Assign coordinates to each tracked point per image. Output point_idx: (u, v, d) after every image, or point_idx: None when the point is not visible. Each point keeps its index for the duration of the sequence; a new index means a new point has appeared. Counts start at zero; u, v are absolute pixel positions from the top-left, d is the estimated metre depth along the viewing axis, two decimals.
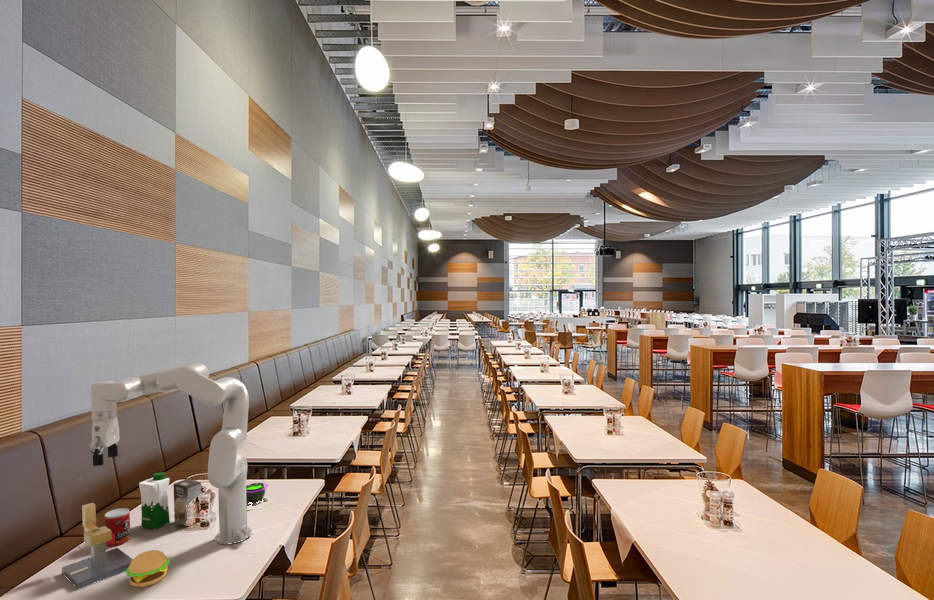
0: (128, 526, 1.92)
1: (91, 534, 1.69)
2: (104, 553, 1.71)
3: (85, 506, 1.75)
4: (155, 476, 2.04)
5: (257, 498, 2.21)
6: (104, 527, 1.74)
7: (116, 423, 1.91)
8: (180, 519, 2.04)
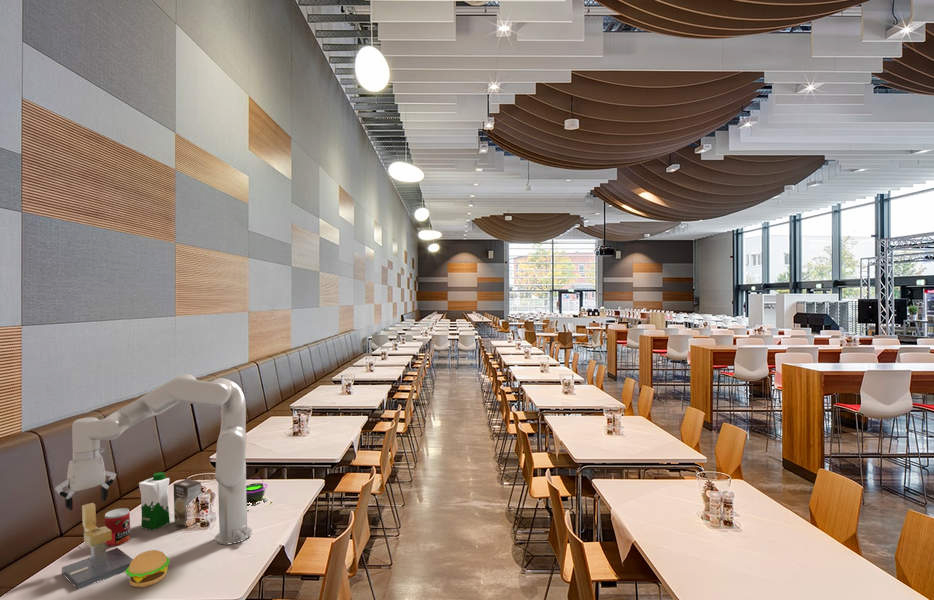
0: (128, 526, 1.92)
1: (91, 534, 1.69)
2: (104, 553, 1.71)
3: (85, 506, 1.75)
4: (155, 476, 2.04)
5: (256, 498, 2.20)
6: (104, 527, 1.74)
7: None
8: (180, 519, 2.04)
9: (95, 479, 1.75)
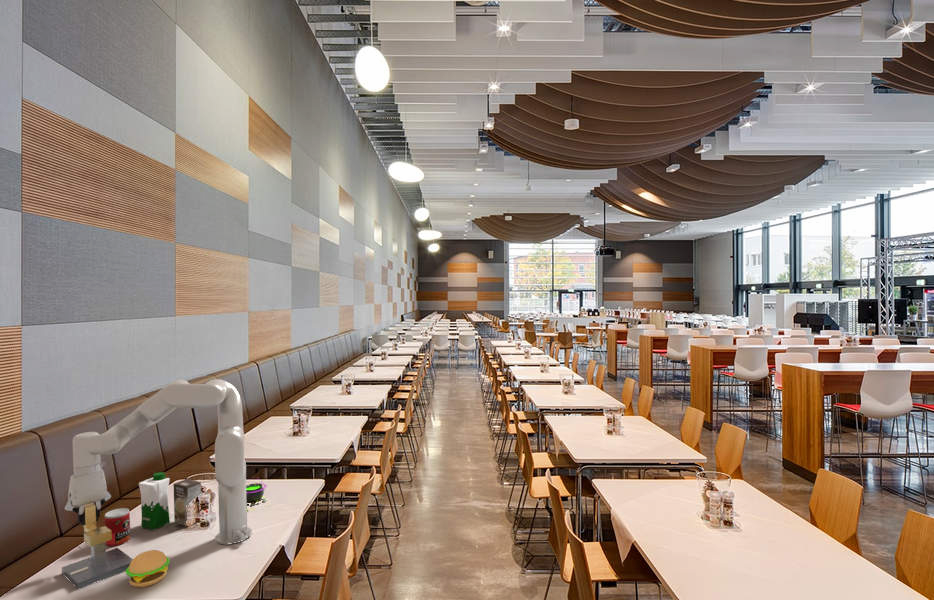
0: (128, 526, 1.92)
1: (91, 534, 1.69)
2: (104, 553, 1.71)
3: (85, 506, 1.75)
4: (155, 476, 2.04)
5: (255, 499, 2.20)
6: (104, 527, 1.74)
7: None
8: (180, 519, 2.04)
9: (97, 493, 1.76)
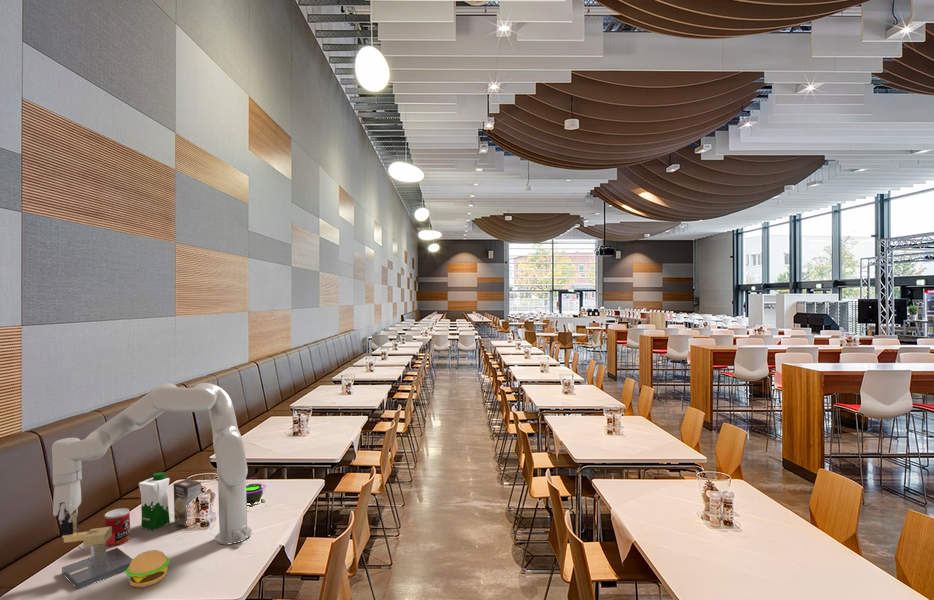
0: (128, 526, 1.92)
1: (97, 533, 1.69)
2: (104, 553, 1.71)
3: (68, 515, 1.68)
4: (155, 476, 2.04)
5: (255, 499, 2.20)
6: (95, 529, 1.73)
7: None
8: (180, 519, 2.04)
9: (79, 499, 1.71)
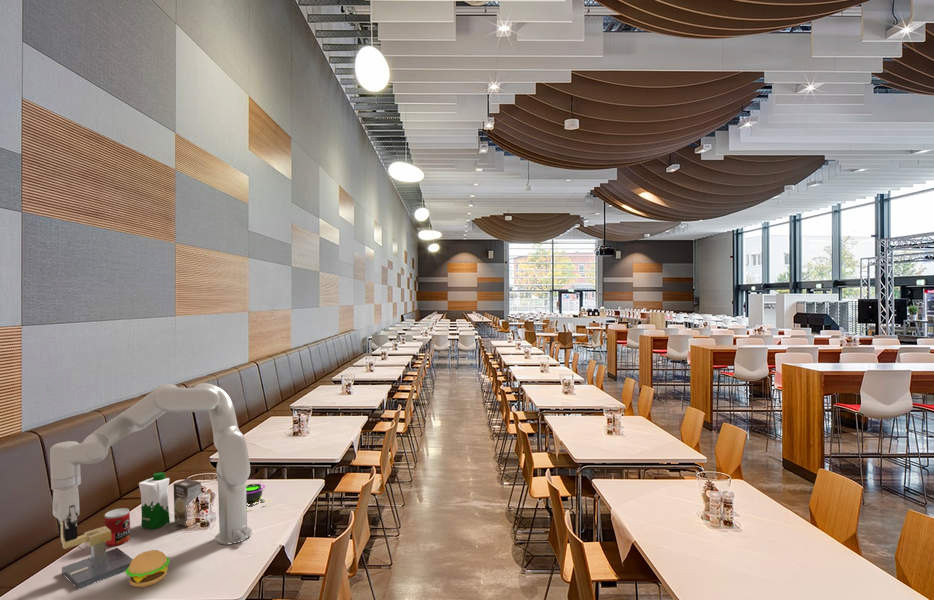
0: (128, 526, 1.92)
1: (101, 532, 1.70)
2: (104, 553, 1.71)
3: None
4: (155, 476, 2.04)
5: (254, 499, 2.20)
6: (89, 531, 1.71)
7: (58, 498, 1.61)
8: (180, 519, 2.04)
9: None
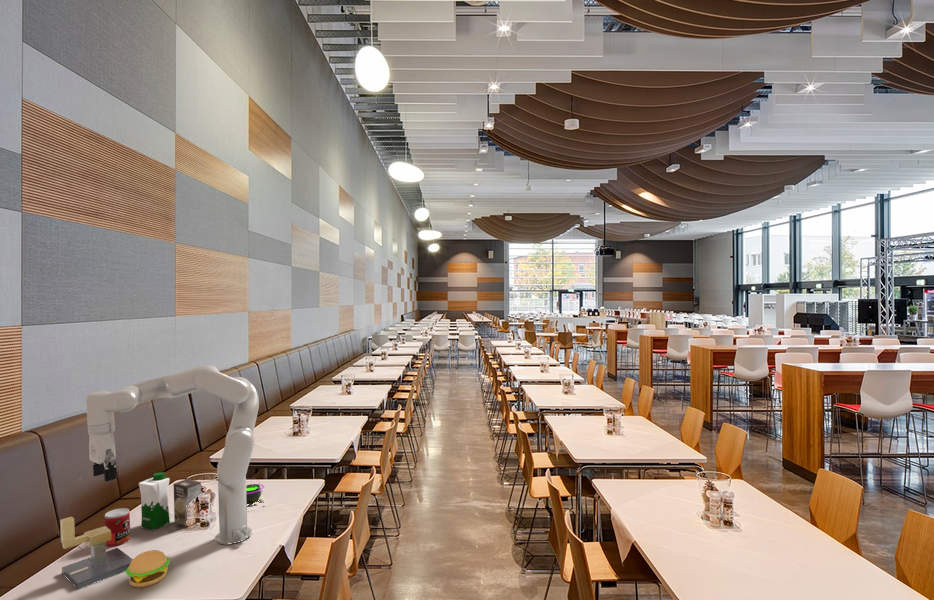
0: (128, 526, 1.92)
1: (101, 532, 1.70)
2: (104, 553, 1.71)
3: (69, 519, 1.64)
4: (155, 476, 2.04)
5: (253, 499, 2.19)
6: (89, 531, 1.71)
7: (96, 442, 1.71)
8: (180, 519, 2.04)
9: None
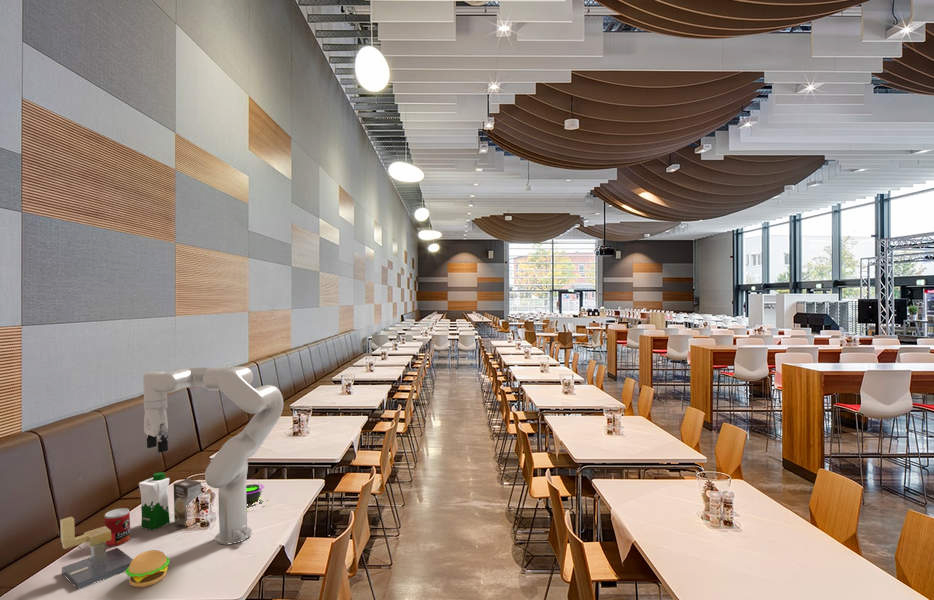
0: (128, 526, 1.92)
1: (101, 532, 1.70)
2: (104, 553, 1.71)
3: (69, 519, 1.64)
4: (155, 476, 2.04)
5: (252, 500, 2.19)
6: (89, 531, 1.71)
7: (151, 417, 1.90)
8: (180, 519, 2.04)
9: None
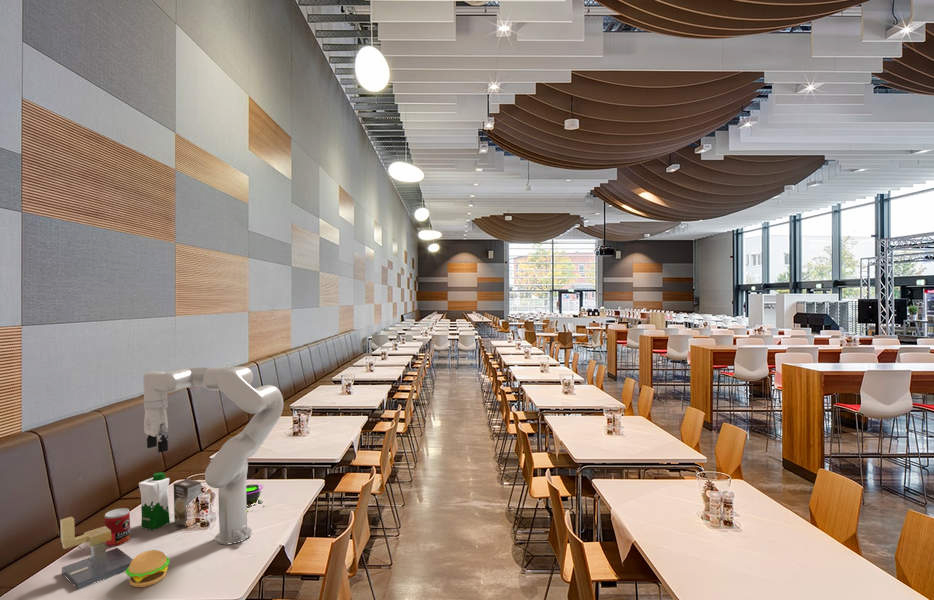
0: (128, 526, 1.92)
1: (101, 532, 1.70)
2: (104, 553, 1.71)
3: (69, 519, 1.64)
4: (155, 476, 2.04)
5: (252, 500, 2.19)
6: (89, 531, 1.71)
7: (151, 417, 1.90)
8: (180, 519, 2.04)
9: None
